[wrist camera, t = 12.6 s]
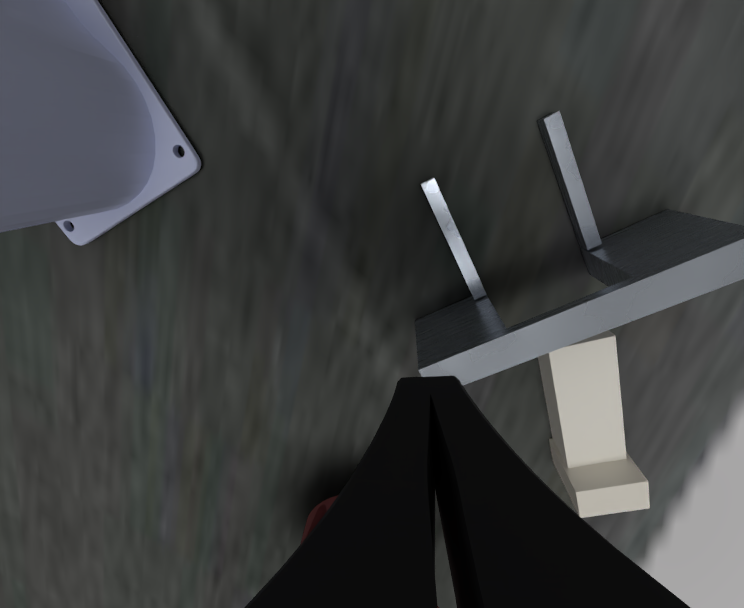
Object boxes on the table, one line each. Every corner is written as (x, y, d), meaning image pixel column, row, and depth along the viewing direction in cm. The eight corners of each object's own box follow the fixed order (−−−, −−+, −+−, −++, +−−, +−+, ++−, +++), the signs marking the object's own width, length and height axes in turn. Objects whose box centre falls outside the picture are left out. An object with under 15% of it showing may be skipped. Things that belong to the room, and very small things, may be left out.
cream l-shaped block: (528, 329, 19) (555, 368, 15) (595, 314, 18) (639, 350, 15) (555, 476, 22) (582, 534, 19) (612, 467, 21) (651, 525, 18)
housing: (358, 216, 17) (344, 238, 13) (632, 69, 14) (732, 33, 10) (426, 342, 19) (433, 396, 15) (674, 237, 16) (771, 268, 12)
